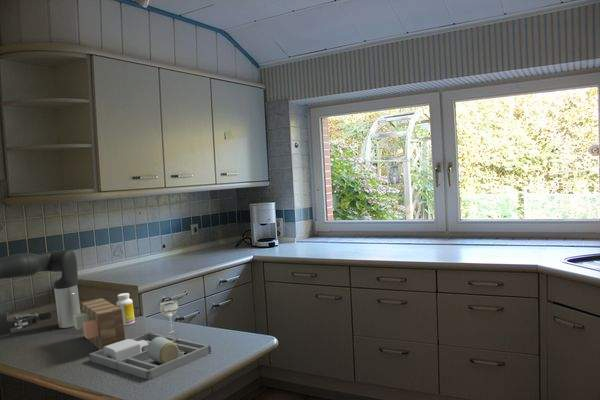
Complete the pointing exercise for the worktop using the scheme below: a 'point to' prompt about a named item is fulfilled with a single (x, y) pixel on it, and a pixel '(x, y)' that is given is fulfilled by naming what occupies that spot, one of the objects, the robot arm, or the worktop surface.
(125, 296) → the supplement bottle
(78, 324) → the button sage
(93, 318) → the panel
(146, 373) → the counter rail frame
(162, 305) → the wineglass
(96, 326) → the button terracotta
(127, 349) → the charger
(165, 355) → the ceramic mug
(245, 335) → the worktop surface
